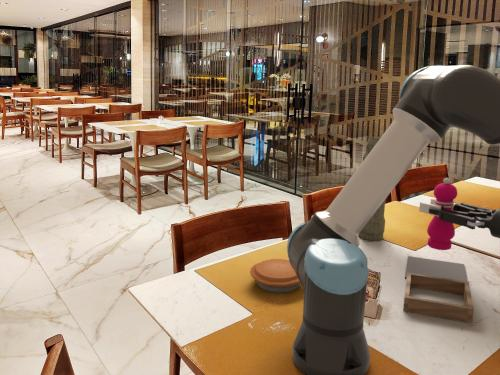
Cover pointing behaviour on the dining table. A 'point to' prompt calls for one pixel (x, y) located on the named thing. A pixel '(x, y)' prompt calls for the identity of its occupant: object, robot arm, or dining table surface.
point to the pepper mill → (437, 228)
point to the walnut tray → (438, 307)
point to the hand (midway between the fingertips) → (425, 204)
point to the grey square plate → (436, 268)
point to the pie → (275, 275)
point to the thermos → (377, 221)
